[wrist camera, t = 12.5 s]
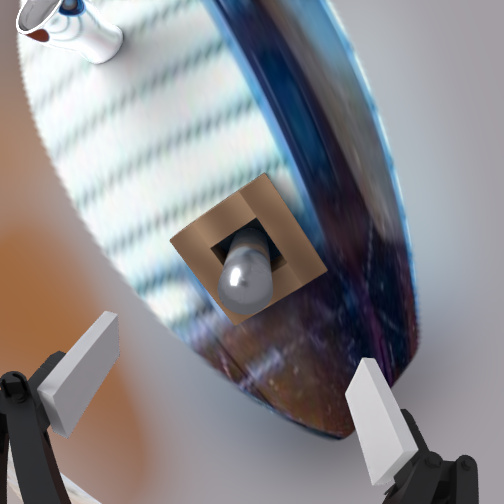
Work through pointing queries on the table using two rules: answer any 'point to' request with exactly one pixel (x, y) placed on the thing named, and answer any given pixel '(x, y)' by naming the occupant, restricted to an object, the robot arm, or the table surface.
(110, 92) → the table surface
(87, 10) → the beer glass
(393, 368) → the table surface
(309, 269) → the socket block
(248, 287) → the steel peg
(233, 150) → the table surface
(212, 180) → the table surface
